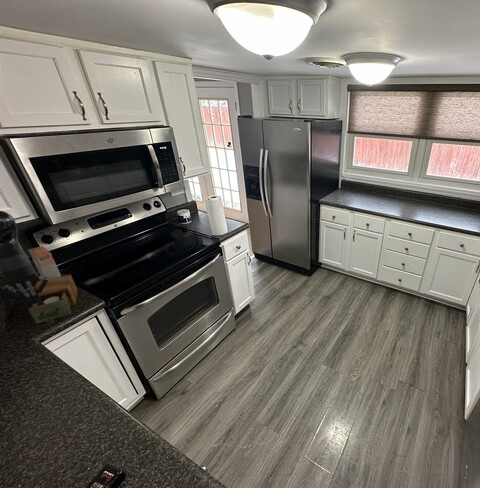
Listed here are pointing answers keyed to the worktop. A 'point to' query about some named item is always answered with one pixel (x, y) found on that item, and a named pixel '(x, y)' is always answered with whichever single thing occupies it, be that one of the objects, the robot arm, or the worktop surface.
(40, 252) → the cracker box
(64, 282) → the cabinet
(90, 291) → the worktop surface
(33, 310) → the drawer
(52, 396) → the worktop surface
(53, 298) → the grey cylinder
